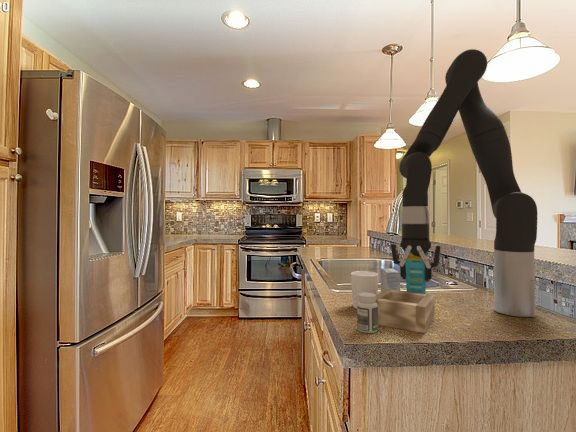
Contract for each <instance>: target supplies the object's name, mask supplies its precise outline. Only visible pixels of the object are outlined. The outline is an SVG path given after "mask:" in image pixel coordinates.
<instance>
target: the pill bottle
mask: <svg viewBox="0 0 576 432" xmlns="http://www.w3.org/2000/svg"><path fill="white" fill-rule="evenodd" d="M375 301H376V295H375V294H373V293H360V294H359V302H358V303H357V309H356V311H357V320H356V321H357V322H356V323H357V330H358V331H359V332H360V333H364V334H375V333H377V332H378V331H379V325H378V305H377V303H376V302H375Z"/></svg>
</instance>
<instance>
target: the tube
mask: <svg viewBox="0 0 576 432" xmlns="http://www.w3.org/2000/svg"><path fill="white" fill-rule="evenodd" d="M429 240H430V238H429ZM406 249H407V248H405V251H406ZM405 251H404V250H403V254H404V253H405ZM425 255H426V257H428V256H429V251H427V253H426V254H425ZM423 257H424V256H423ZM426 268H427V267H426V265H425V263H424V261H423V260H422V258H420V257H418V256H414V255H413V254H412V253H411V252H410V253H409V255H408V257H407V259H406V262H405V271H406V279H405V283H406V284H405V286H406V287H405V289H406V292H411V293H419V294H427V292H426V291H427V281H426Z"/></svg>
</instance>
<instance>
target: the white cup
mask: <svg viewBox="0 0 576 432" xmlns="http://www.w3.org/2000/svg"><path fill="white" fill-rule="evenodd" d="M350 283H351V285H350V287H351V298H352V307H353V308H354V309H355V310H357V303H358V302H359V294H360V293H373V294H375V295H377V294H378V293H379V292H378V291H379V289H378V288H379V286H378V285H379V273H378V272H374V271H370V270H369V271H368V270H367V271H366V270H365V271H364V270H357V271H352V272H351V273H350Z"/></svg>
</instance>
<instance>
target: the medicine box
mask: <svg viewBox="0 0 576 432" xmlns="http://www.w3.org/2000/svg"><path fill="white" fill-rule="evenodd" d="M385 289H387V290H395V291H401V276H400V271H398V270H397V269H394V268H380V292H382V291H383V290H385Z"/></svg>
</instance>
